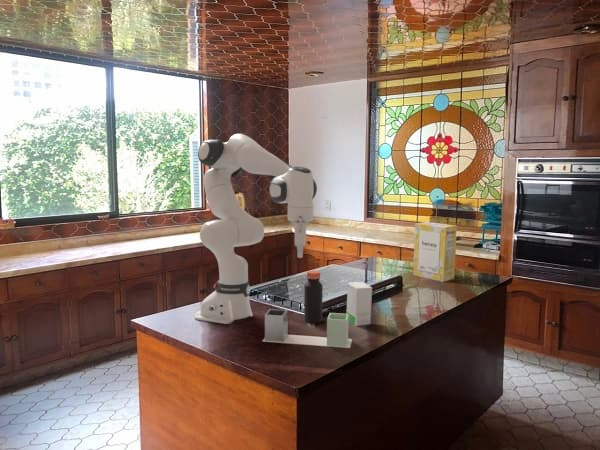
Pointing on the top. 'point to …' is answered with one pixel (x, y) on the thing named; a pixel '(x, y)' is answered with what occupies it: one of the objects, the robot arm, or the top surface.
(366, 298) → the skincare box
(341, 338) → the tube sage
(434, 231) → the pasta box
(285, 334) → the tube grey
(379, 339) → the top surface
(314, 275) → the bottle
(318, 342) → the board
